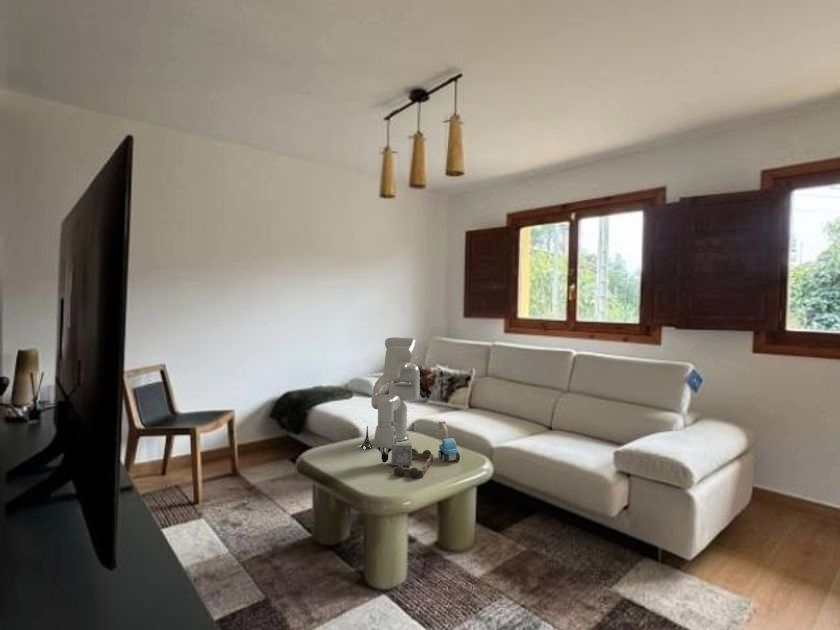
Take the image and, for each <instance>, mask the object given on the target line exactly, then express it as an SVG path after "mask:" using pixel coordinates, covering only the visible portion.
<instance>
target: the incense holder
mask: <svg viewBox="0 0 840 630" xmlns="http://www.w3.org/2000/svg"><path fill="white" fill-rule="evenodd" d="M412 449H413V445H412V443H411V442H407V443H405V442H396V444H394V445H392V451H391V461H390V462H391V466H402V467H404V466H412V465H413V459H412Z"/></svg>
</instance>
